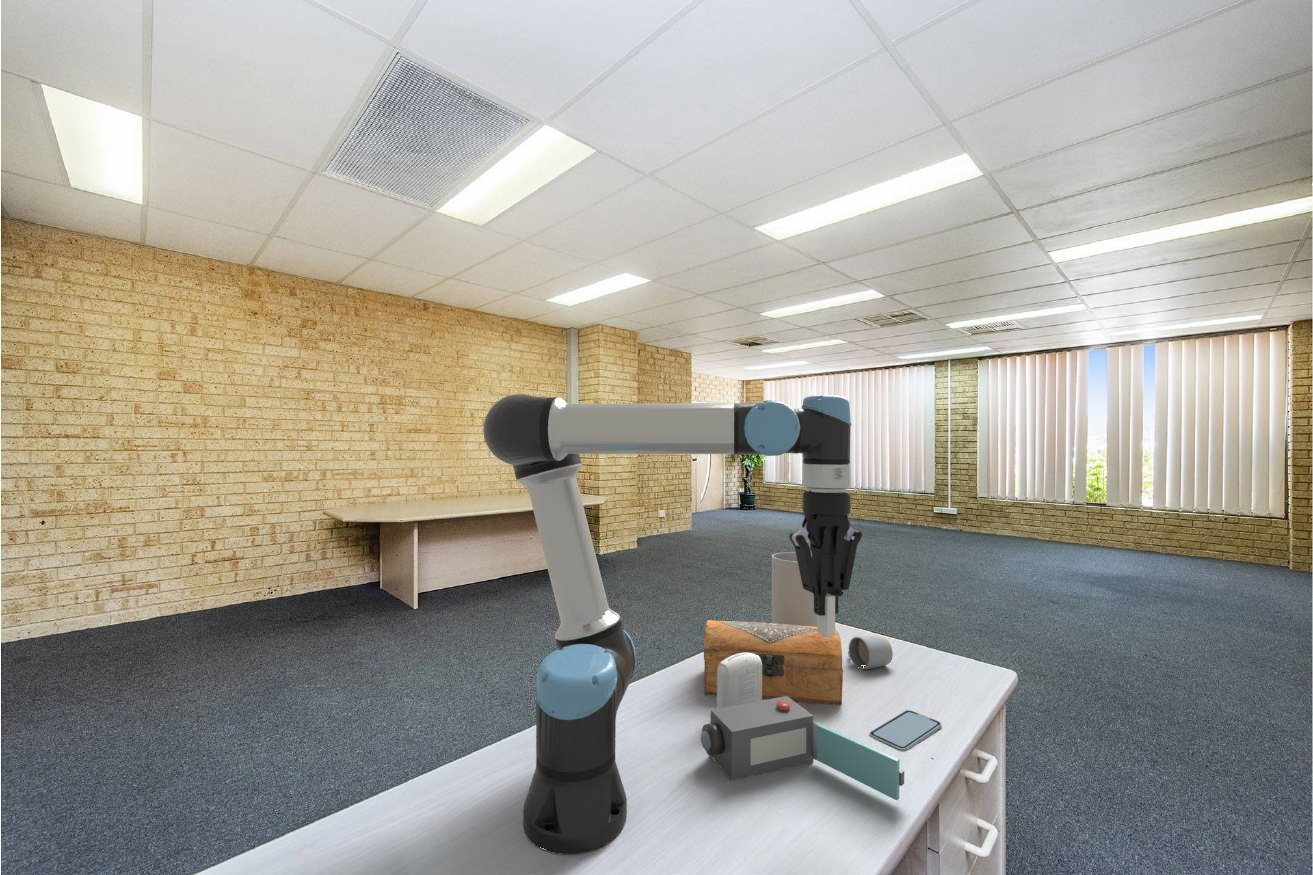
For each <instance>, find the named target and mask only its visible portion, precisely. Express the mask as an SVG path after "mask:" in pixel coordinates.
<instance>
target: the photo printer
mask: <svg viewBox="0 0 1313 875" xmlns="http://www.w3.org/2000/svg"><path fill="white" fill-rule="evenodd" d="M762 700H763V699H762V662H761V659H760V657H759V656H758V655H755V654H753V653H739V654H735V655H732V656H730V657H728V658H726V659H725V660H723V661H722V662H721V663H720V664H719V665H718V668H717V696H716V709H717V708H723V707H728V706H734V705H740V704H745V703H751V702H756V701H762Z"/></svg>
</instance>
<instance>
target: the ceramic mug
mask: <svg viewBox="0 0 1313 875" xmlns="http://www.w3.org/2000/svg"><path fill="white" fill-rule="evenodd" d="M847 654H848V658H849V659H850V660H851V662H852V664H853V665H854V666H855V667H856V666H857V667H859V668H860V670H862V669H863V671H864V670H870V669H875V668H881V666H882V667H885V666H887V665H889V664H890V663H892V660H893V648H892V646H891V643H890V641H889V640H887V639H886V638H885V637H883V636H880V635H864V636H863V635H861V636H854V637H852V638H851V639H850V641H849V643H848V651H847ZM861 665H866V666H864V668H863V666H861ZM857 667H856V668H857ZM859 668H858V669H859Z"/></svg>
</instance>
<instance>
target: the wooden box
mask: <svg viewBox="0 0 1313 875" xmlns="http://www.w3.org/2000/svg"><path fill="white" fill-rule="evenodd" d="M703 642H704V643H703V645H704V646H703V660H704V672H703V673H704V686H703V688H704V696H713V695H715V696H716V697H717V668H718V665H719V664H720V663H721V662H722V661H723V660H725V659H726V658H728V657H730V656H732V655H735V654H739V653H753V654H755V655H758V656H759V657H760V659H761V662H762V700H767V699H773V698H778V697H784V696H788V697H789V698H791V699H792V700H793V701H795V702H796V703H797V702H798V703H808V704H809V703H811V704H825V705H833V704H835V705H837V706H839V705H842V704H843V702H842V701H843V684H844V683H843V681H844V680H843V679H844V677H843V676H844V674H843V673H844V669H843V652H842V650H843V649H842V641H841V637H840V633H839V632H838V630H837V628H835V636H834V637H826V636H824V635H822V634H820V633H818V632H817V627H811V626H798V625H789V624H776V623H772V622H756V621H737V620H736V621H729V620H710V619H707V620H706V622H705V630H704V641H703Z"/></svg>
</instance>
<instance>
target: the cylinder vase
mask: <svg viewBox="0 0 1313 875" xmlns="http://www.w3.org/2000/svg"><path fill="white" fill-rule="evenodd" d="M811 557H812V554H811ZM771 623H776V624H789V625H798V626H811V627H817V614H815V613H814V595H813V593H812V592H809V591H807V590H805V589H803V586H802V581H801V576H800V571H799V566H798V561H797V556H796V551H794V552H789V551H787V552H785V551H784V552H778V553H773V554H772V555H771Z"/></svg>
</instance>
